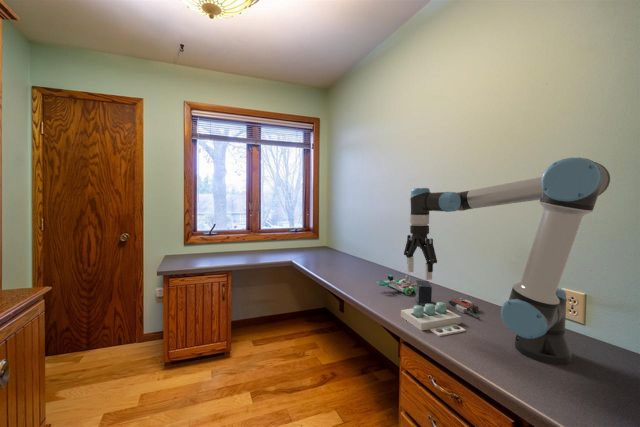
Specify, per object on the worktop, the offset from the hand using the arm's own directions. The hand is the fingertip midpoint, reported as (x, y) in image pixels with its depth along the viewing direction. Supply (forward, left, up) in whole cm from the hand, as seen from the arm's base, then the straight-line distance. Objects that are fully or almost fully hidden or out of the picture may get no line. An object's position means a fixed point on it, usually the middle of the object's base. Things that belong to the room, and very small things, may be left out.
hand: (419, 275), depth 118 cm
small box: (+17, -16, -20) cm, 31 cm away
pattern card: (-11, -6, -20) cm, 24 cm away
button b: (0, -6, -18) cm, 19 cm away
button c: (0, 0, -18) cm, 18 cm away
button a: (0, -12, -18) cm, 21 cm away
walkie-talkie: (+3, -30, -21) cm, 36 cm away
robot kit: (+38, -14, -21) cm, 46 cm away
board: (0, -6, -20) cm, 21 cm away
